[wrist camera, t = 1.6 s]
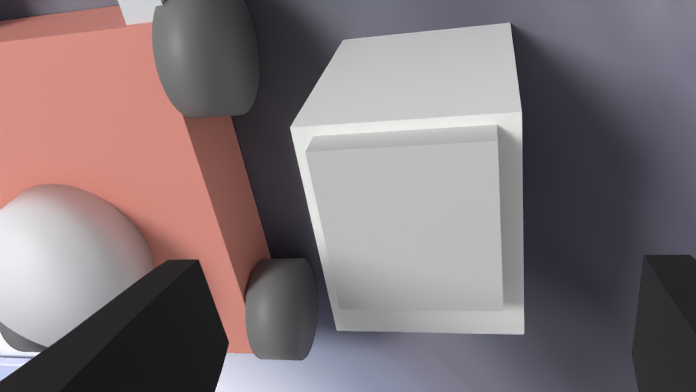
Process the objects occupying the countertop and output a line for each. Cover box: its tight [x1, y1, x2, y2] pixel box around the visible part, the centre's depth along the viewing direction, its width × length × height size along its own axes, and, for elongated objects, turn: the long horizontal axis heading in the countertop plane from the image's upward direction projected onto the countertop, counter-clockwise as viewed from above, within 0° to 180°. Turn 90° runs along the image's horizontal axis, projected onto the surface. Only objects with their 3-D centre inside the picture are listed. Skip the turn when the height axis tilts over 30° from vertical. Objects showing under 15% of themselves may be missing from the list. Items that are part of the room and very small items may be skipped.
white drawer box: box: [290, 23, 524, 334], centre depth 13 cm, size 5×4×6 cm
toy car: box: [0, 0, 318, 360], centre depth 15 cm, size 18×10×4 cm, turn 9°
